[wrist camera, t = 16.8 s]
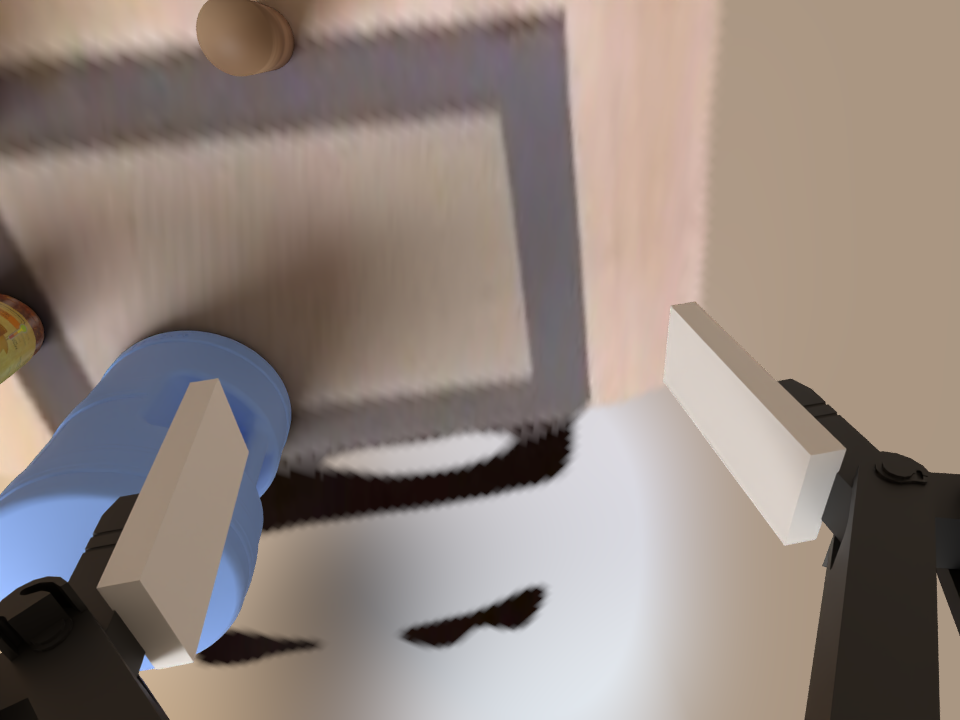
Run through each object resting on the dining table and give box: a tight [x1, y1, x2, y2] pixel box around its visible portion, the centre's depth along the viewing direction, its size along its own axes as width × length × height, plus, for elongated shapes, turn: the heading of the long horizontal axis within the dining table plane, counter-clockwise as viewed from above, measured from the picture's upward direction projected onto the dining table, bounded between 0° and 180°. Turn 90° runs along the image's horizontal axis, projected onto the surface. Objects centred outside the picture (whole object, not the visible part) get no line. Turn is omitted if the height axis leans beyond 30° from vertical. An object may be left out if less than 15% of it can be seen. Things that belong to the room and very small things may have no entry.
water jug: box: [0, 331, 291, 671], centre depth 41 cm, size 16×16×28 cm
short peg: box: [196, 0, 294, 76], centre depth 37 cm, size 4×4×9 cm
